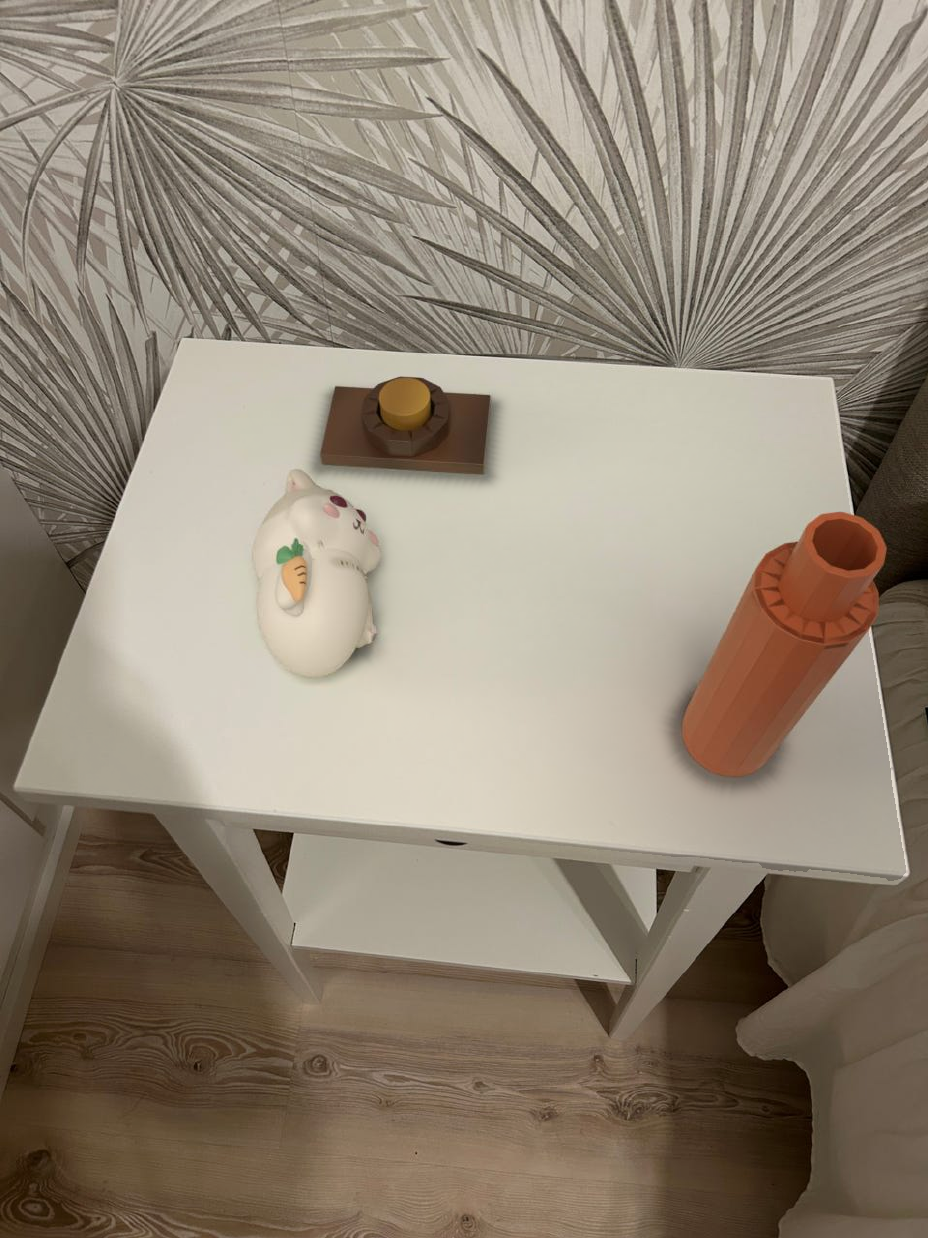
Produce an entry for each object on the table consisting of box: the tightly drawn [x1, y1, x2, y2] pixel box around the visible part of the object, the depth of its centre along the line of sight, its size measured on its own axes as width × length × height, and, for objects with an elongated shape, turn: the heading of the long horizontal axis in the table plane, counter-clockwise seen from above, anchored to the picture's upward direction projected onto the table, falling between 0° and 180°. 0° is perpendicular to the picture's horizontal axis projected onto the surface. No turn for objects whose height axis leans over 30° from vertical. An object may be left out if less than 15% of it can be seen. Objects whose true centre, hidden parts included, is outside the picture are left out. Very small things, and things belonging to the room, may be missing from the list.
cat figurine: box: [251, 468, 382, 678], centre depth 61 cm, size 10×8×15 cm
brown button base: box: [319, 376, 492, 475], centre depth 72 cm, size 13×8×3 cm, turn 85°
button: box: [379, 378, 431, 431], centre depth 70 cm, size 4×4×2 cm
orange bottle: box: [681, 511, 888, 778], centre depth 50 cm, size 6×6×22 cm
